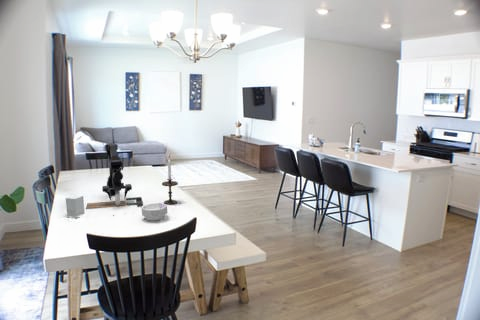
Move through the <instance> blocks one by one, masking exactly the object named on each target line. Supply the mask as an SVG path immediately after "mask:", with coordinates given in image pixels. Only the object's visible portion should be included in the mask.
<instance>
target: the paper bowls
mask: <svg viewBox="0 0 480 320" xmlns="http://www.w3.org/2000/svg"><path fill="white" fill-rule="evenodd" d="M167 214H168V205H166V204H164V202H153V203H147V204H143V207H141V215H142V216H143V217H144V218H145V220H147V221H152V222H157V221H160V220H162V219H164V217H165V216H166V215H167Z"/></svg>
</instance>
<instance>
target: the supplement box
mask: <svg viewBox="0 0 480 320" xmlns="http://www.w3.org/2000/svg"><path fill="white" fill-rule="evenodd" d="M65 208H66V215H67V218H68V219H69V218H70V219H71V217H73V219H75V220H76V219H80V218H81V215H84V214H85V213H86V212H85V200H84V195H76V194H73V195H70V196H67V197H65Z"/></svg>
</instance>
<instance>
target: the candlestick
mask: <svg viewBox="0 0 480 320" xmlns="http://www.w3.org/2000/svg"><path fill="white" fill-rule="evenodd" d="M170 157H171V154H169V156H168V160H167V169H168V171H167V173H168V176H167V177H168V178H167V179H166V180H167V181H163V182H162V183H161V185H162V186H164V187H168V191H167V193H168V197H169V198H168V199H167V200H165V201H163V204H166V205H167V206H168V205H169V206H170V205H176V204H178V201H177V200H176V199H172V197H173V195H172V194H173V192H172V187H175V186H177V185H179V182H178V181H175V180H174V181H173V178H172V167H171V165H172V161H171V159H170Z"/></svg>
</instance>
